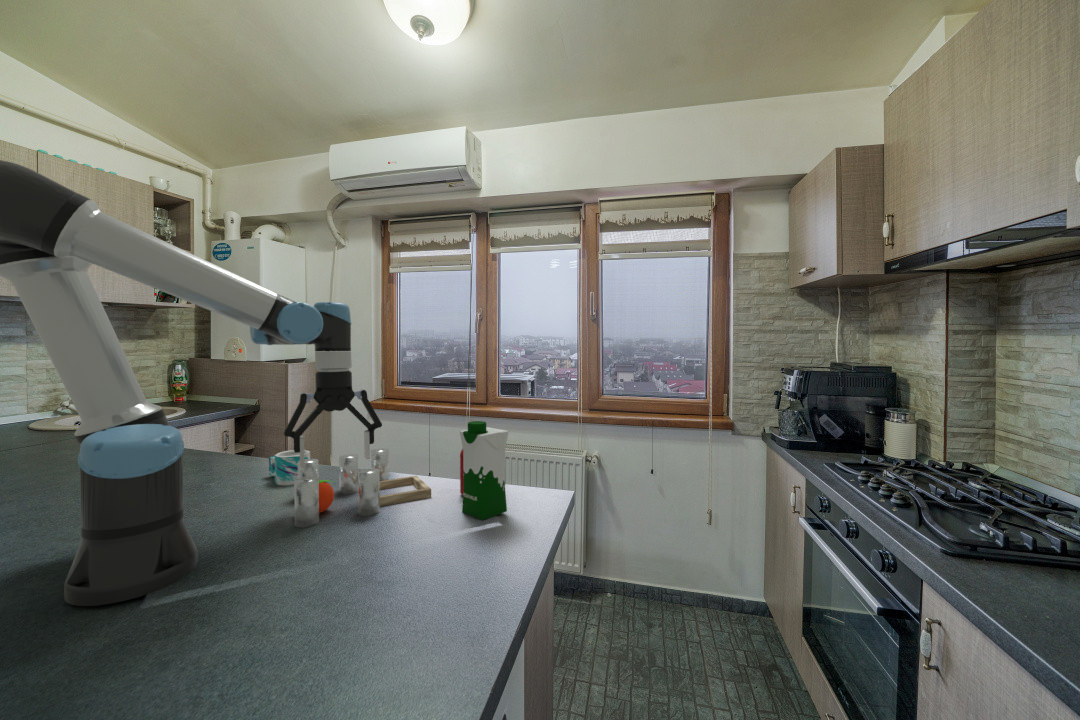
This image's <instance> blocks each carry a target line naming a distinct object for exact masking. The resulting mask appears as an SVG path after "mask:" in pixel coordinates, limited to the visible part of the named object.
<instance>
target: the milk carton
mask: <svg viewBox="0 0 1080 720" xmlns="http://www.w3.org/2000/svg"><path fill="white" fill-rule="evenodd" d="M459 435H460V440H461V446H462V449H463V495H462V505H461V506H462V507H461V511H462V513H464V514H466V515H468V516H470V517H473V518H475V519H478V520H480V521H483V520H484V521H485V520H487V519H489V518H492V517H495V516H497V515H501V514H503V513H506V512H508V507H507V494H506V446H507V441H508V436H509V430H507V429H506V430H505V429H500V428H495V427H494V428H493V427H488V426H487V422H486V421H483V420H481V421H478V420H476V421H475V420H474V421H473V420H472V421H469V422H467V429H465V430H464V429H463V430H460V431H459Z"/></svg>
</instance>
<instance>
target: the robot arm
mask: <svg viewBox="0 0 1080 720" xmlns="http://www.w3.org/2000/svg"><path fill="white" fill-rule="evenodd" d="M92 265H95V266H97V267H100V268H103V269H105V270H107V271H110V272H113V273H116V274H118V275H120V276H123V277H125V278H128V279H131V280H132V281H135V282H138V283H140V284H143V285H145V286H147V287H150V288H152V289H155V290H158V291H160V292H163V293H165V294H168V295H171V296H173V297H175V298H178V299H180V300H183V301H186V302H188V303H191V304H193V305H196V306H198V307H200V308H202V309H206V310H207V311H210V312H212V313H215V314H217V315H220V316H224V317H225V318H228V319H231V320H233V321H235V322H238V323H241V324H243V325H246V326H248V327H249V334H250V339H251V341H252V343H253V344H256V345H267V346H273V345H275V346H276V345H277V346H279V345H280V346H282V345H284V346H285V345H287V346H288V345H291V346H292V345H314V363H315V366H314V367H315V370H318V371H316V373H315V392H314V393H306V392H301V393H300V396H299V402H298V404H297V407H296V408H295V409H294V411H293V414H292V416H291V417H290V420H289V422H288V423H287V425H286V427H285V429H284V432H283V435H284V436H285V437H286V438H287V437H289V438H291V439H293V450H294V452H295V453H299V452H300V468H304V450H305V440H304V439H305V438H304V436H302V435H303V434H304V433H305V431H306V430H307V429H309V427H310V426H311V425H312V424H313V422H314V421H315V420H316V419H317V418H318V416H319V415H320V414H322V413H323V411H326V412H327V413H329V412H330V413H331V412H334V411H338V412H341V411H345V409H347V410H348V411H350V413H351V414H352V415H353V416H354V417H355V418H357V420H358V421H359V422H360V423H361V424H362V425H364V427H365V428H366V429H364V430H363V435H364V436H363V437H364V439H363V440H364V442H363V443H364V445H363V446H364V458H365V459H366V460H371V450H370V449H371V448H370V447H371V445H373V444H374V443H375V430H376V429H379V428H381V427H382V426H383V423H382V421H381V420H380V418H379V416H378V414H377V413H376V411H375V410H374V407H373V406H372V404H371V403H370V400H369V398H368V392H367V390H365V389H360V390H355V391H354V390H353V375H352V374H353V373H352V371H351V370H350V369H352V345H351V344H352V343H351V342H352V337H351V336H352V322H351V321H352V319H351V309H350V307H349V306H348V305H347V304H346V303H343V302H335V301H319V302H315V303H313V304H314V305H312V304H309V303H305V302H302V301H297V302H296V301H294V300H292V299H290V298H288V297H286V296H284V295H280V294H278V293H277V292H274V291H273V290H270V289H269V288H266V287H264V286H261V285H259V284H257V283H256V282H253V281H251V280H249V279H247V278H245V277H242V276H240V275H238V274H237V273H234V272H232V271H230V270H227V269H225V268H223V267H221V266H219V265H217V264H214V263H212V262H210V261H208V260H205V259H204V258H202V257H199V256H197V255H195V254H193V253H191V252H189V251H187V250H184V249H182V248H180V247H178V246H176V245H174V244H171V243H169V242H167V241H166V240H165V241H164V240H162V239H161V238H159V237H156V236H154V235H152V234H150V233H148V232H145V231H144V230H141V229H139V228H138V227H134V226H133V225H131V224H128V223H126V222H124V221H122V220H120V219H118V218H116V217H113V216H112V215H109V214H107V213H104V212H102V211H101V209H100V208H99V206H98V204H97V203H96V201H94V200H93V199H91V198H89V197H86V196H84V195H82V194H81V193H79V192H76V191H74V190H72V189H70V188H68V187H66V186H64V185H62V184H60V183H58V182H56V181H55V180H53V179H50V178H49V177H47V176H45V175H43V174H41V173H40V172H37V171H35V170H33V169H31V168H28V167H27V166H23V165H21V164H18V163H15V162H11V161H8V160H7V161H6V160H1V159H0V277H1V278H4V279H5V280H6V279H7V280H8V281H9V282H11V283H12V285H13V287H14V289H15V291H16V293H17V296H18V297H19V299H20V301H21V303H22V305H23V307H24V309H25V311H26V313H27V315H28V317H29V319H30V322H32V325H33V326H34V328H35V332H36V333H37V335H38V337H39V339H40V340H41V342H42V344H43V347H44V348H45V350H46V353H47V355H48V357H49V358H50V360H51V362H52V365H53V366H54V367H53V368H55V370H56V372H57V374H58V376H59V378H60V381H61V382H62V385H63V386H64V388H65V391H66V392H67V395H68V397H69V398H70V400H71V402H72V404H73V407H74V408H75V411H76V412H77V414H78V416H79V418H80V420H81V422H80V424H79V426H78V427H77V429H76V430H75V432H74V434H73V435H74V437H75V439H76V441H77V442H78V444H79V453H78V456H77V464H78V466H79V473H80V475H79V476H80V477H79V479H80V483H79V484H80V487H79V488H80V489H79V490H80V543H79V546H78V548H77V551H76V553H75V555H74V558H73V561H72V563H71V565H70V569H69V570H68V573H67V576H66V578H65V581H64V587H63V590H64V591H63V597H64V601H65V602H66V603H67V604H69V605H72V606H77V607H78V606H79V607H94V606H95V607H96V606H104V605H105V606H106V605H111V604H117V603H120V602H121V603H122V602H124V601H129V600H132V599H136V598H140V597H143V596H145V595H148V594H150V593H152V592H155V591H157V590H159V589H163V588H164V587H167V586H169V585H172V584H174V583H175V582H178V581H179V580H181V579H183V578H184V577H186V576H187V575H189V574H190V573H192V572H193V571H194V570H195V569H196V567H197V566H198V563H199V557H198V556H199V554H198V553H199V552H198V548H197V545H196V544H195V542H194V540H193V537H192V535H191V532H190V531H189V529H188V526H187V524H186V522H185V519H184V518H185V517H184V463H183V462H184V450H185V443H184V441H183V435H182V432H181V431H180V429H178V428H177V427H175V426H172V425H171V424H170V421H169V420H168V417H167V416H166V414H165V412H164V410H163V409H164V408H163V407H162V406H160V405H158V404H154V403H151V402H149V401H147V399H146V396H145V394H144V392H143V390H142V388H141V385H140V383H139V381H138V379H137V377H136V375H135V373H134V370H133V368H132V366H131V364H130V361H129V360H128V358H127V356H126V353H125V351H124V349H123V347H122V344H121V342H120V340H119V338H118V336H117V334H116V332H115V330H114V328H113V327H114V326H113V325H112V323H111V321H110V319H109V317H108V314H107V312H106V310H105V307H104V306H103V304H102V302H101V300H100V297H99V295H98V293H97V291H96V289H95V285H94V284H93V282H92V280H91V278H90V276H89V273H88V270H89V269H90V267H91V266H92ZM355 397H356V398H357V399H358V400H360V401H361V403H362V404H363V406H364V408H365V409H366V410H365V411H367V413H368V415H369V416H370V418H371V420H372V422H373V423H371V422H370V421H368V420H367V418H366V417H364V416H363V414H361V413H360V411H358V410H357V409H356V407H355V406H353V404H352V403H351V402H352V400H353V399H354V398H355ZM312 399H313V400H314V401H315V402H316V403H317V406H316V407H315V408H314V409H313V410H312V412H311V413H310V414H308V416H307V417H306V419H305V420H304V421H303V422H302V423H301V424H300V425H299V427H298V428H297V429H295V426H296V424H297V423H298V420H299V418H300V417H301V415H302V414H303V411H304V409H305V407H306V404H309V403H310V402H311V400H312ZM294 429H295V430H294Z"/></svg>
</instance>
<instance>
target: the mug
mask: <svg viewBox="0 0 1080 720" xmlns="http://www.w3.org/2000/svg"><path fill="white" fill-rule="evenodd" d="M305 459H311V451H310V450H306V449H304V460H305ZM298 461H300V452H299V453H295V452H294V449H291V450H284V451H281V452H278V453H276V454H274V455H273V456H270V457H268V476H271V477H274V483H275V484H276V485H278V486H294V481H295V480H296V479H298Z"/></svg>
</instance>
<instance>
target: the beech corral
mask: <svg viewBox="0 0 1080 720" xmlns="http://www.w3.org/2000/svg"><path fill="white" fill-rule="evenodd" d="M405 486H414V487H415V488H416V489H414V490H407V491H402V492H397V493H389V494H384V495H380V507H384V506H391V505H395V504H396V505H397V504H402V503H406V502H412V501H417V500H423V499H424V500H425V499H429V498H432V488H431V487H430V486H428V485H427V484H426V483H425V482H424V481H423V480H422V479H421V478H420V477H419V476H418V475H413V476H406V477H397V478H393V479H391V478H390V479H389V480H384V481H380V490H386V489H395V488H400V487H405Z"/></svg>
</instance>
